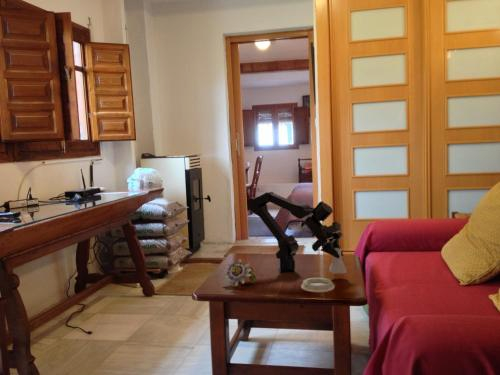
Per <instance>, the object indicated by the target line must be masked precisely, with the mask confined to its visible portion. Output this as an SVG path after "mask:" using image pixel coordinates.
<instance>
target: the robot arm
mask: <svg viewBox="0 0 500 375" xmlns="http://www.w3.org/2000/svg"><path fill="white" fill-rule="evenodd" d="M269 203H271V204H273V205H275V206H278V207H280V208H281V209H284V210H286V211H288V212H289V213H290V214H291V215H292V216H293V217H295V218H297V219H298V220H300V219H303V220H301V221H300V222H301V223H300V227H301V228H304V227H306V228H308V230H310V232H311V233H312V234H311V237H313V238H314V237H315V239H316V241H315V242H314V243H313V244H312V245H311V248H312V250H313V251H314V252H315V253H316V252H318V251H319V250H320V251H322V252H324V253H326V254H328V255H330V256H333V258H334V257H336V258H339V257H340V256H339V254H338V253H337V251H336V250H335V248H341V246H340V242H339V241H340V239H341V238H342V237H343V233H342V232H341V231H342V227H341V226H342V224H341V223H340V222H338V221H334V222H332V223H331V224H330V225H329V226H328V225H326V224H324V225H323V223H322V222H325V221H326V220H327V219H328V217H330V216H331V215H332V214H333V213H334V210H333V208H332V206H330V205H328V204H327V203H325V202H324V201H323V200H321V201H319V202H318V203H317V205H316V206H315V207H311V205H310V204H307V203H303V202H296V201H292V200H290V199H288V198H286V197H283V196H281V195H279V194H277V193H274V192H273V191H267V192H264V193H263V194H261V195H259V196H256V197H252V198H251V197H250V198H249V199H248V200H247V204H246V205H247V208H248V210H250V212H251V213H252V214H254V215H256V216H258V218H260V219H261V221H262V222H263V224H264V225H265V226H266V228H267V229H268V230H269V231H270V233H271V235H273V237H274V238H275V239H276V241H277V247H278V248H279V250H278V251H277V252H276V253H275V256H276V259H278V268H277V269H278V270H279V272H280V273H290V272H291V273H292V272H296V271H295V270H296V261H295V259H294V257H295V256H296V254H297V252H299V241H298V240H296V239H295V237H294V235H292V234H290V235H288V234H287V233H285V231H284V230H283V229H282V227H281V226H280V225H279V223H278V222H277V221H276V219H275V218H274V217H273V216H272V214H271V213H270V211H269V210H268V205H267V204H269ZM304 218H305V219H304ZM320 247H321V249H319V248H320ZM341 256H342V257H343V256H344V253H343V251H342V250H341Z"/></svg>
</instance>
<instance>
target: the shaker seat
mask: <svg viewBox="0 0 500 375" xmlns="http://www.w3.org/2000/svg"><path fill="white" fill-rule="evenodd" d="M300 287H301V289H302V290H303V291H306V292H312V293H327V292H331V291H333V290H334V289H335V284H334V283H333V281H332V280H331V279H330V278H324V277H308V278H306V279H303V281H302V284H301V286H300Z"/></svg>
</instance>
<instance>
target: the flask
mask: <svg viewBox="0 0 500 375" xmlns="http://www.w3.org/2000/svg"><path fill="white" fill-rule="evenodd" d="M335 250H336V251H337V253H338V254H339V256H340V257H339V258H336V257H334V256H333V258H332V261H331V264H330V267H329V270H328V272H329V273H331V274H334V275H343V274H346V273H348V270H347V268H346V265H345V264H344V263H345V262H344V261H343V256H341V251H342V250H343V249H342V248H341V247H340V248H335Z"/></svg>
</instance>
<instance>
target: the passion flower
mask: <svg viewBox="0 0 500 375" xmlns="http://www.w3.org/2000/svg"><path fill="white" fill-rule="evenodd" d="M249 266H250V262H248V263H242V259H241V258H239V259H238V260H237V261H235V262H234V263H232V262H231V263H228V268H227V271H226V274H225V275H223V278H224V279H227V278H229V279H230V281H229V282H230V283H229V284H230V285H233V284H234V286H235V287H238V285H239V283H241V284H243V285H244V284H245V283H246V278H247V277H248V279H249V280H250V281H251V283H252V284H253V285H255V284H256V282H257V277H256V275H255V274H254V272H255V270H254V268H253V267H252V266H250V267H249ZM223 278H222V279H223Z"/></svg>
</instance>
